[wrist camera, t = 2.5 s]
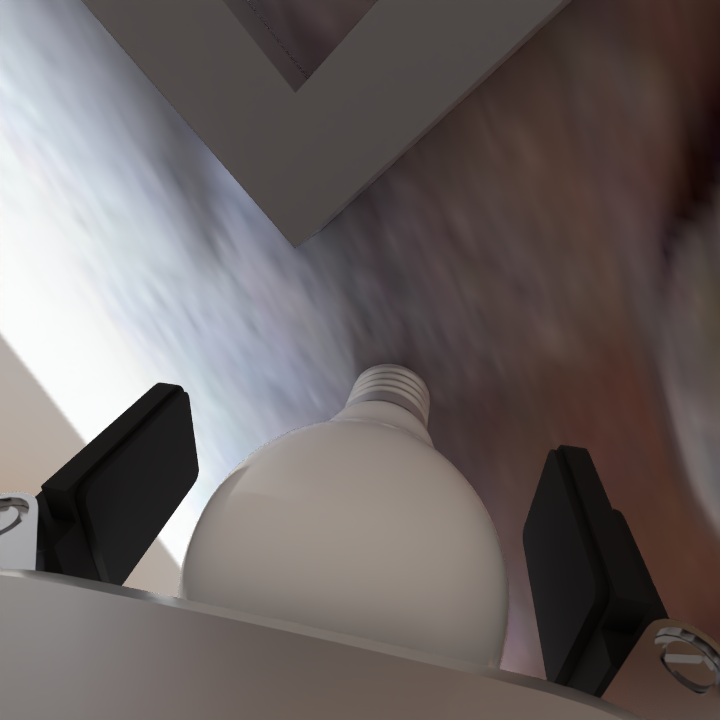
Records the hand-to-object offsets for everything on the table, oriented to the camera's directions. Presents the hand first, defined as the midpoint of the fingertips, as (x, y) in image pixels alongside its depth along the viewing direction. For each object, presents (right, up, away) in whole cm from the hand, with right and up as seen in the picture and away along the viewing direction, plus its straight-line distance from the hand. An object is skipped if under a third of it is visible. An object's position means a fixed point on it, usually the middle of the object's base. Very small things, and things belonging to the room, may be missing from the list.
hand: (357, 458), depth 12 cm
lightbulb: (+1, +2, +5) cm, 5 cm away
